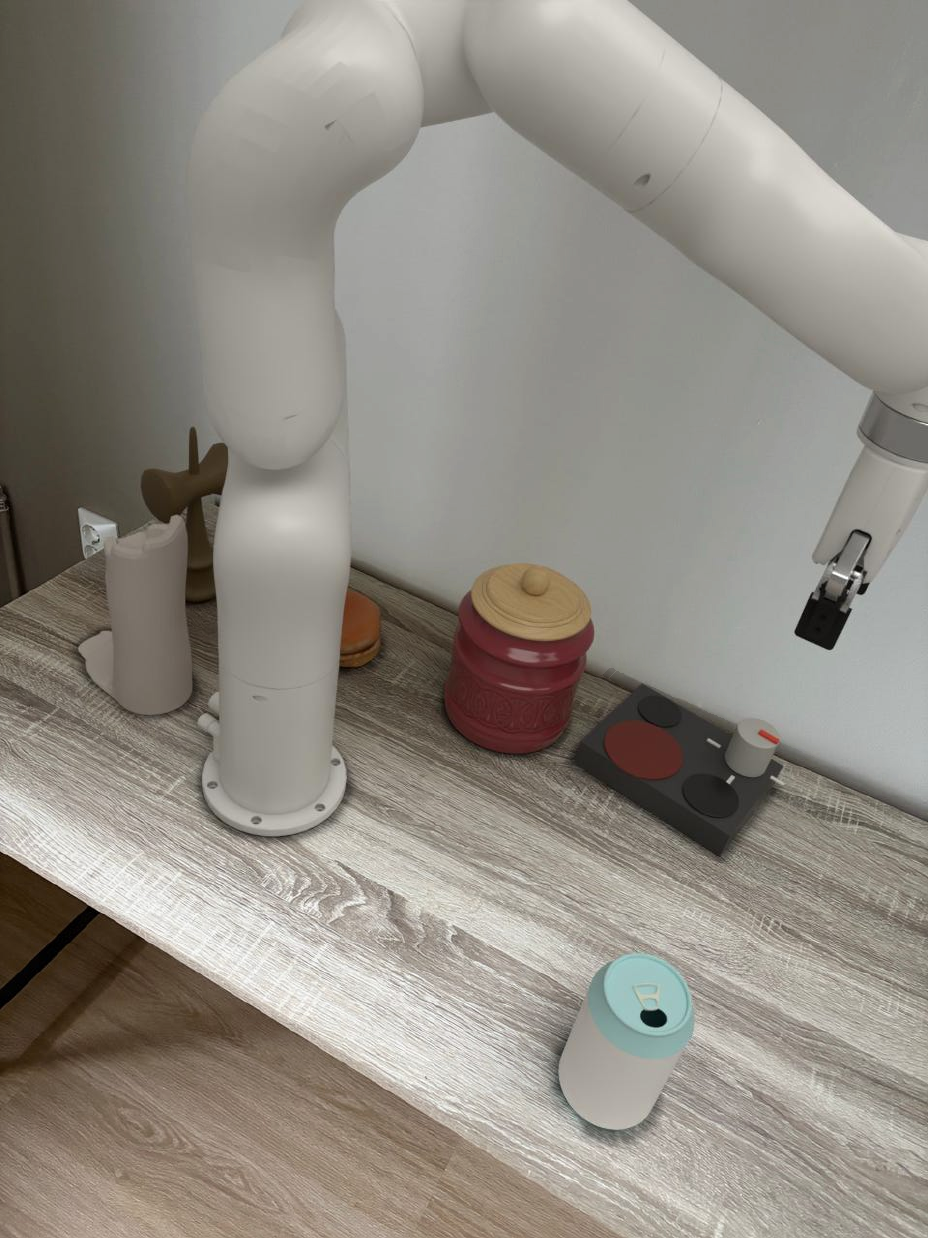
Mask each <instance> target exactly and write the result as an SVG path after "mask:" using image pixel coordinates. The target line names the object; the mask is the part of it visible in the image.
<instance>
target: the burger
mask: <svg viewBox="0 0 928 1238" xmlns="http://www.w3.org/2000/svg"><path fill="white" fill-rule="evenodd" d="M381 632H382V613H381V609H380V608H379V606H378V604H377V603H375V602H374V601H373V600H372V599H371V598H370V597H368V596H366V595H364V594H362V593H360V592H357V591H356V590H352V589H348V588H347V592H346V598H345V605H344V613H343V623H342V634H341V644H340V661H339V668H340V667H342V668H350V667H351V668H359V667H361V666H364V665H366V664H368V663H369V662H371V661H372V660H374V659H375V658H376V656H377V655H378V653H379V651H380V649H381V644H382V638H381Z"/></svg>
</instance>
